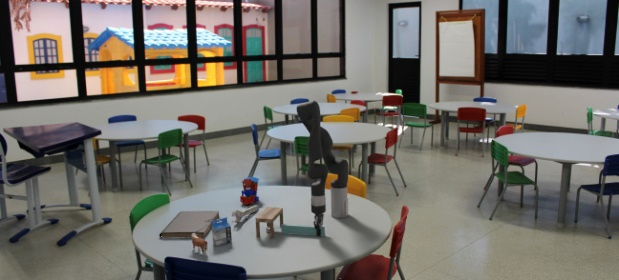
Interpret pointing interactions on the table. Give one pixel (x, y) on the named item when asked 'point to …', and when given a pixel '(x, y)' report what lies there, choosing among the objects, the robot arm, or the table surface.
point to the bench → (269, 219)
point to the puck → (268, 230)
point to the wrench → (243, 213)
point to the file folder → (190, 224)
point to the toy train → (249, 190)
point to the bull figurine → (199, 243)
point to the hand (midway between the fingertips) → (319, 235)
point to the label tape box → (221, 232)
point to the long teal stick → (300, 229)
